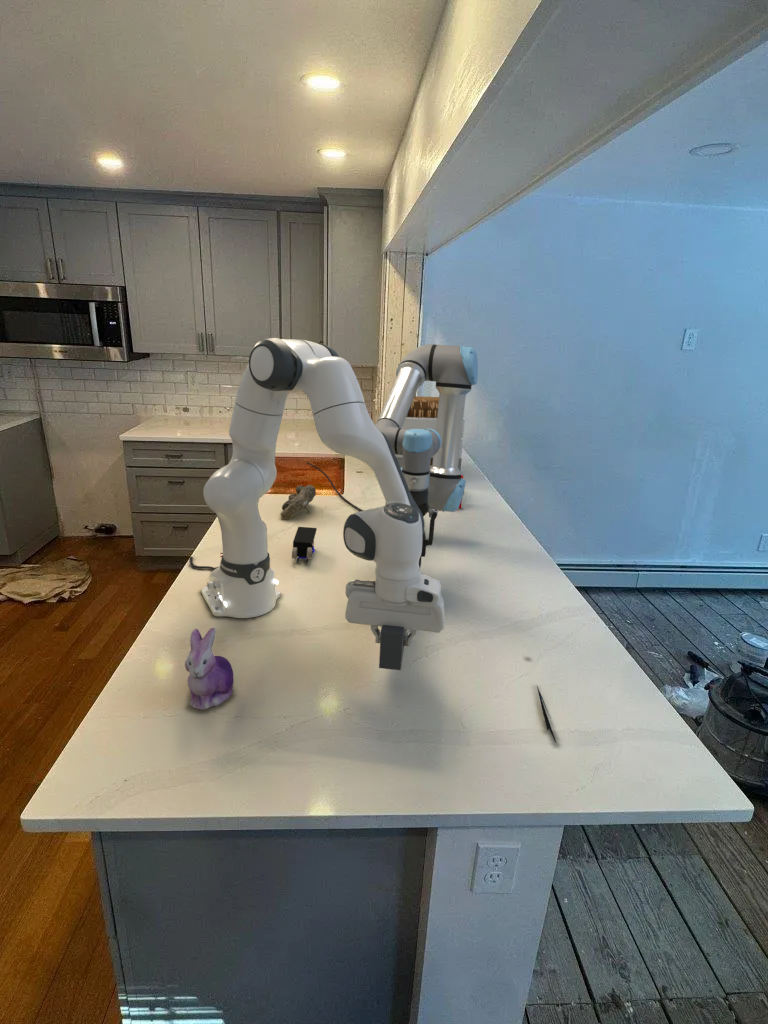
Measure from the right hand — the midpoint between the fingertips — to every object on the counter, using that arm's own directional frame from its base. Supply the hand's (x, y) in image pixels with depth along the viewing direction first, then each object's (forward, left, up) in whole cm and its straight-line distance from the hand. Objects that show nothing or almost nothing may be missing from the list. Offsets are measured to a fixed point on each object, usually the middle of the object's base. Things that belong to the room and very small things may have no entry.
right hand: (410, 565), depth 161 cm
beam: (+15, -17, -1) cm, 23 cm away
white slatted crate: (-83, +85, -6) cm, 119 cm away
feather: (+53, -13, -6) cm, 55 cm away
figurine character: (-34, -14, -6) cm, 37 cm away
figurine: (+12, -66, -6) cm, 67 cm away
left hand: (+30, -33, +3) cm, 45 cm away
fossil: (-70, +7, -6) cm, 70 cm away
